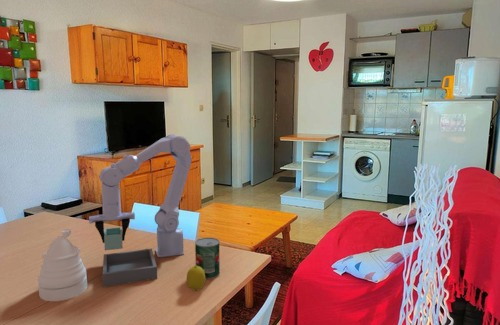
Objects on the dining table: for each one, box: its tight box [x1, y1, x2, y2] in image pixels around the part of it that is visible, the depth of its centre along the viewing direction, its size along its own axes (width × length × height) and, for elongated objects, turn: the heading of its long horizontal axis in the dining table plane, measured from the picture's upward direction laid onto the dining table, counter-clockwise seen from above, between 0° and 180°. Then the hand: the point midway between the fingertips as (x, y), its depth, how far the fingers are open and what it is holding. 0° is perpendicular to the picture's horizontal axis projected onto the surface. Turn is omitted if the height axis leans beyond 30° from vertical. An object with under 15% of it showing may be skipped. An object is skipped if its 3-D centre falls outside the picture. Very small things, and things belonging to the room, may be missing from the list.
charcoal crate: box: [102, 248, 158, 288], centre depth 122 cm, size 16×16×4 cm
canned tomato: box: [194, 237, 221, 280], centre depth 120 cm, size 8×8×11 cm
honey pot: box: [37, 228, 88, 302], centre depth 109 cm, size 13×13×18 cm
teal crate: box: [103, 226, 124, 251], centre depth 127 cm, size 6×8×5 cm
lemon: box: [186, 264, 206, 292], centre depth 109 cm, size 6×6×8 cm
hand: (113, 240), depth 127 cm, fingers closed on teal crate, 6 cm apart
